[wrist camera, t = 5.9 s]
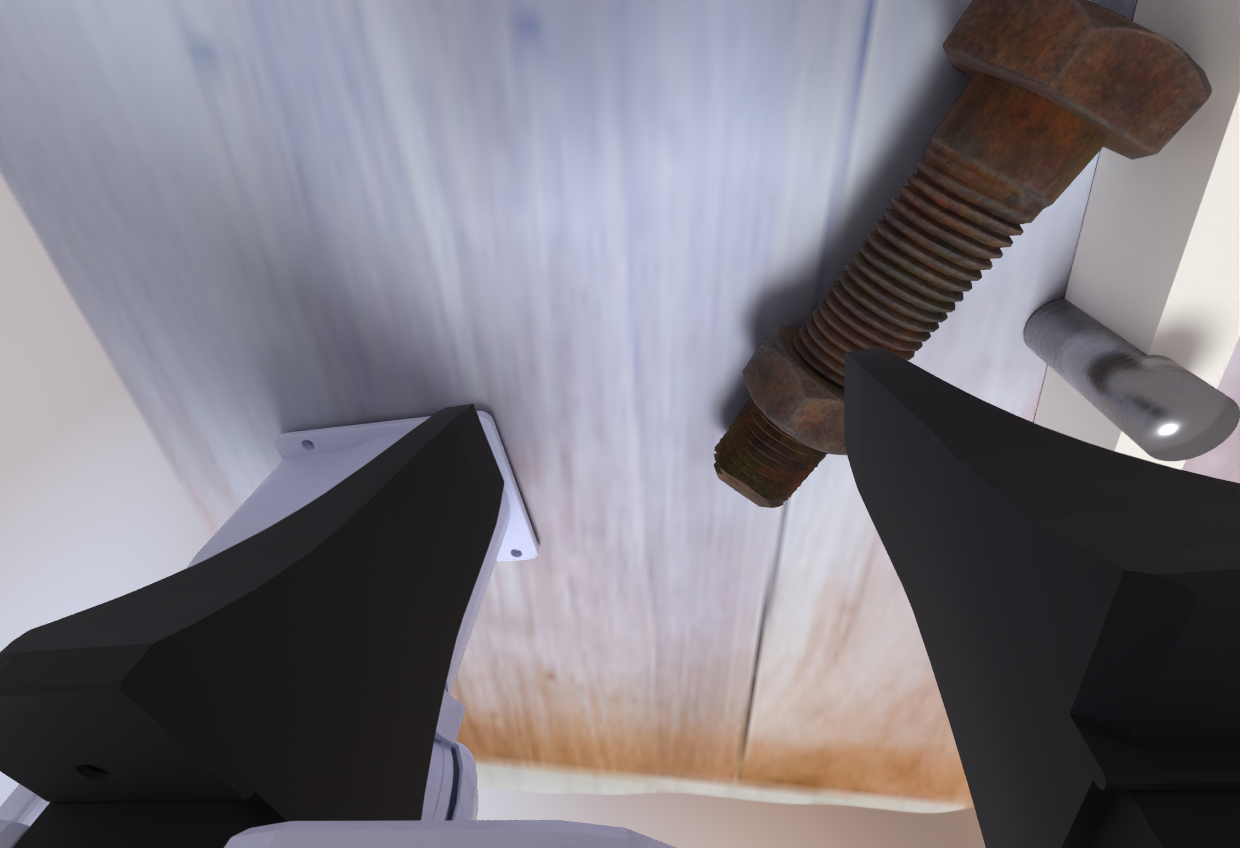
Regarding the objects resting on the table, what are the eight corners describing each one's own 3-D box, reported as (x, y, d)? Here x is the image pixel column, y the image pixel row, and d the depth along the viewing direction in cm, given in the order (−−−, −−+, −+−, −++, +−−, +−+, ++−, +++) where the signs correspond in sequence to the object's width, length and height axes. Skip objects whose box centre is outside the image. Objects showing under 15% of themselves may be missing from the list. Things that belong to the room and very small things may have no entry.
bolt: (722, 414, 24) (997, 15, 16) (822, 491, 23) (1179, 103, 15) (655, 466, 20) (990, -54, 11) (775, 566, 19) (1254, 64, 10)
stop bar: (1000, 439, 22) (1096, 559, 17) (1182, -414, 11) (1597, -780, 6) (1089, 431, 21) (1215, 552, 16) (1373, -472, 10) (1996, -923, 6)
